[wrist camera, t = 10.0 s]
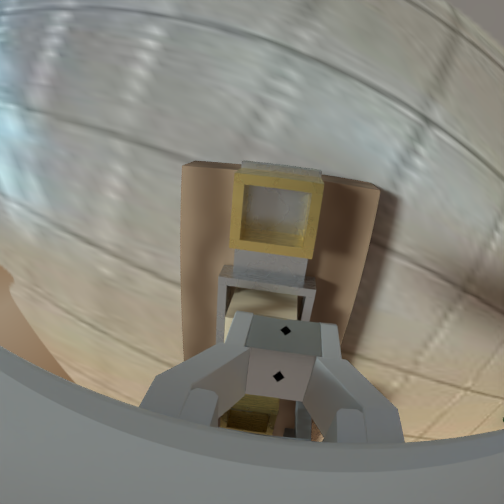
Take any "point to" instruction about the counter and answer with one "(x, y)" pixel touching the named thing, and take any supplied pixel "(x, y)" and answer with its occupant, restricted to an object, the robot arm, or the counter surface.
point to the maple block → (261, 305)
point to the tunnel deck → (219, 254)
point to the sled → (269, 257)
